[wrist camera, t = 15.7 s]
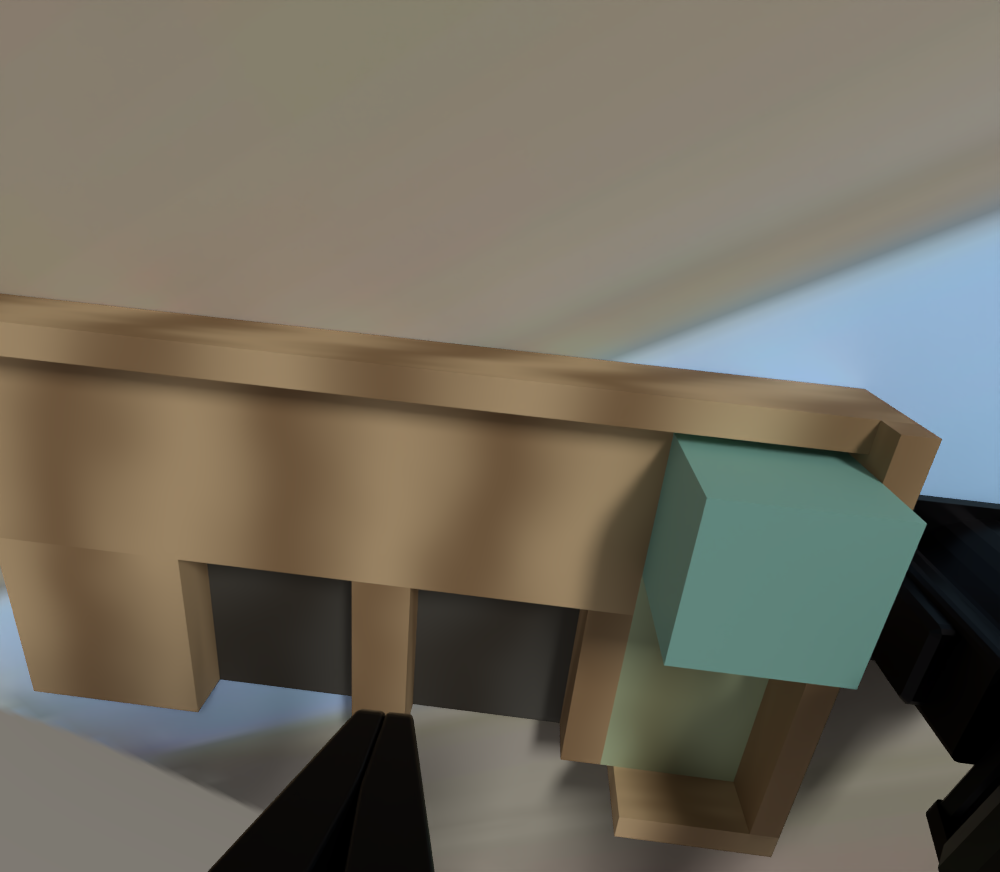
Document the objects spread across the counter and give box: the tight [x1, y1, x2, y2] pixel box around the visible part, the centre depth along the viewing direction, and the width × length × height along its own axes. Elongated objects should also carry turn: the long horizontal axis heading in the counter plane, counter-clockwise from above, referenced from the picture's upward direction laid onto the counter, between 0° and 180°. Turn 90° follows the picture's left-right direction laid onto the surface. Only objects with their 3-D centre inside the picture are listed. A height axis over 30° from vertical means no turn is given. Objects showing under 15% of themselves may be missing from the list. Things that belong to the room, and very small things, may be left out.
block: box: [642, 433, 927, 689], centre depth 17 cm, size 5×5×4 cm
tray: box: [0, 294, 942, 857], centre depth 21 cm, size 28×16×4 cm, turn 85°
